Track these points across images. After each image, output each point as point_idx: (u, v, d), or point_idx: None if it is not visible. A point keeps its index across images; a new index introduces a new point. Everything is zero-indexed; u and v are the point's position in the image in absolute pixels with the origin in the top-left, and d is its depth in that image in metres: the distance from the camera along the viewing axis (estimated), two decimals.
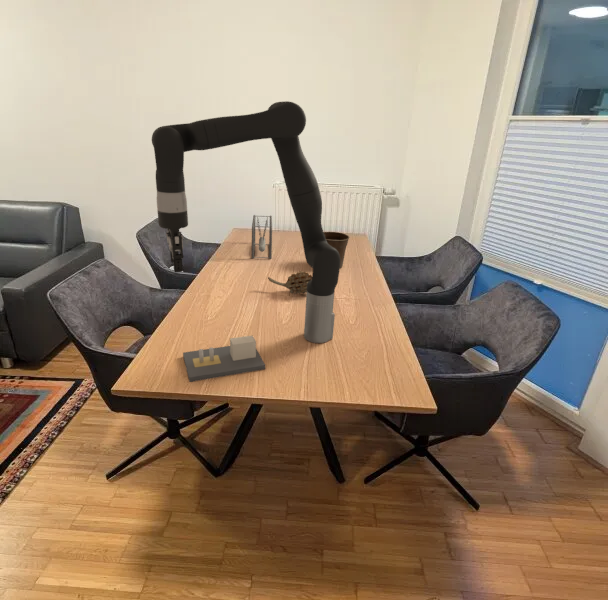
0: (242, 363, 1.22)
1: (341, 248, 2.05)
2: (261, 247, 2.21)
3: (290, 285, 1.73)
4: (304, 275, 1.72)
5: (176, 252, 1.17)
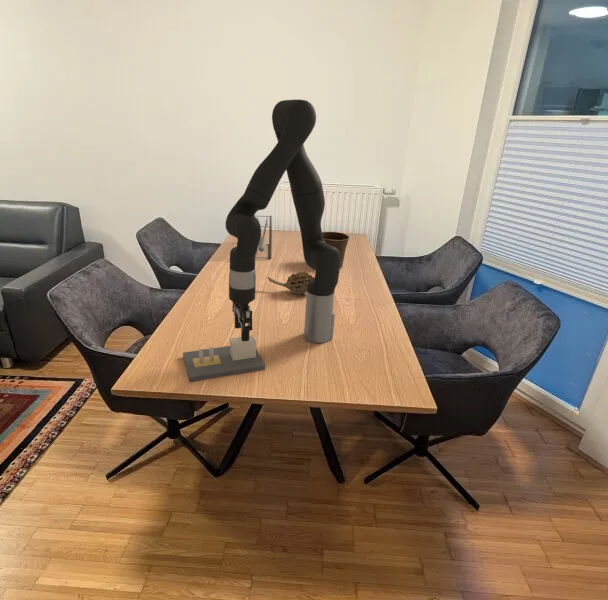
0: (242, 363, 1.22)
1: (341, 248, 2.05)
2: (261, 247, 2.21)
3: (290, 285, 1.73)
4: (304, 275, 1.72)
5: None
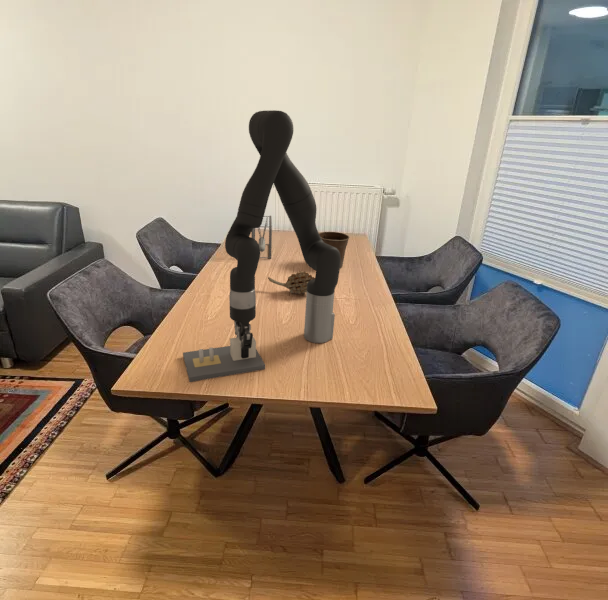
0: (242, 363, 1.22)
1: (341, 248, 2.05)
2: (261, 247, 2.21)
3: (290, 285, 1.73)
4: (304, 275, 1.72)
5: None
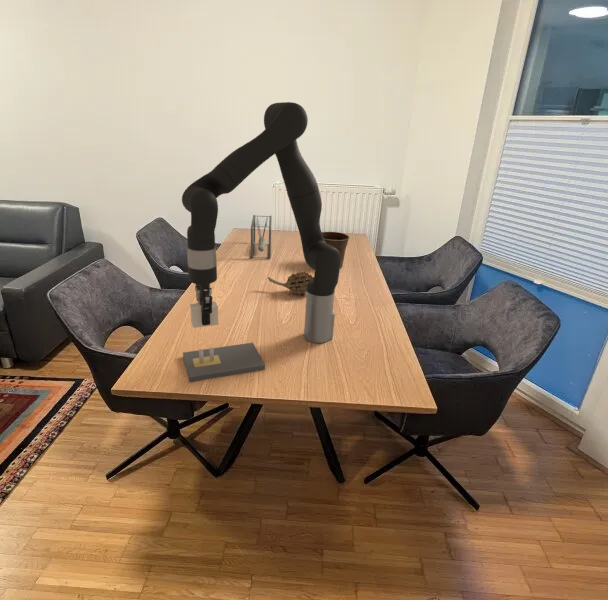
0: (242, 363, 1.22)
1: (341, 248, 2.05)
2: (260, 247, 2.21)
3: (290, 285, 1.73)
4: (304, 275, 1.72)
5: None
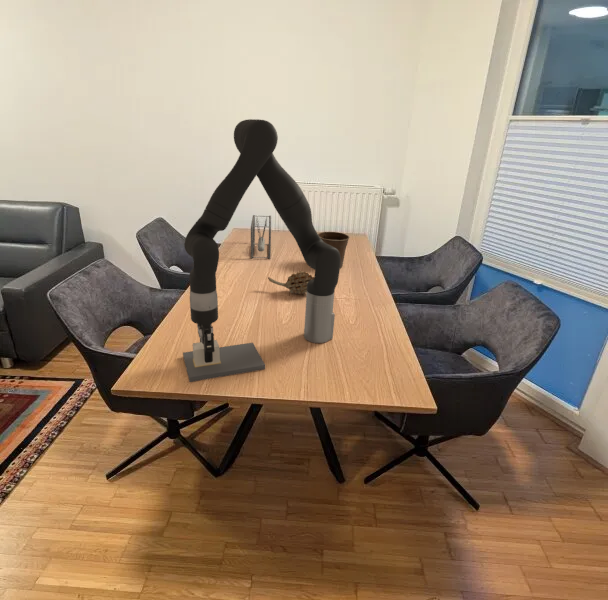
0: (242, 363, 1.22)
1: (341, 248, 2.05)
2: (260, 247, 2.21)
3: (290, 285, 1.73)
4: (304, 275, 1.72)
5: None
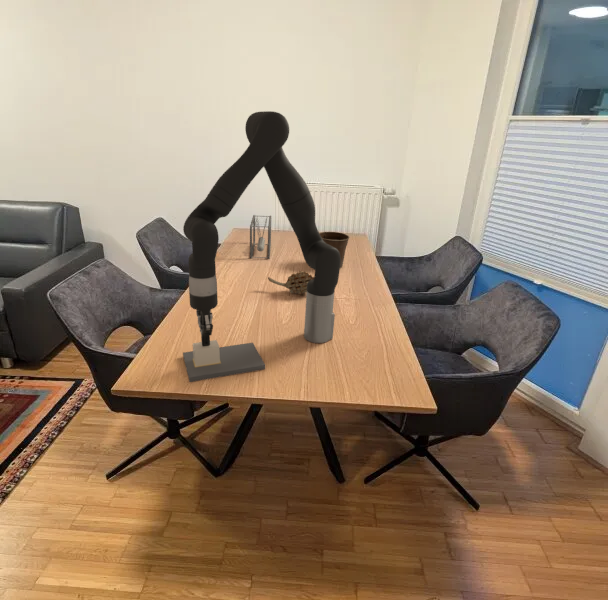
0: (242, 363, 1.22)
1: (341, 248, 2.05)
2: (259, 247, 2.21)
3: (290, 285, 1.73)
4: (304, 275, 1.72)
5: None
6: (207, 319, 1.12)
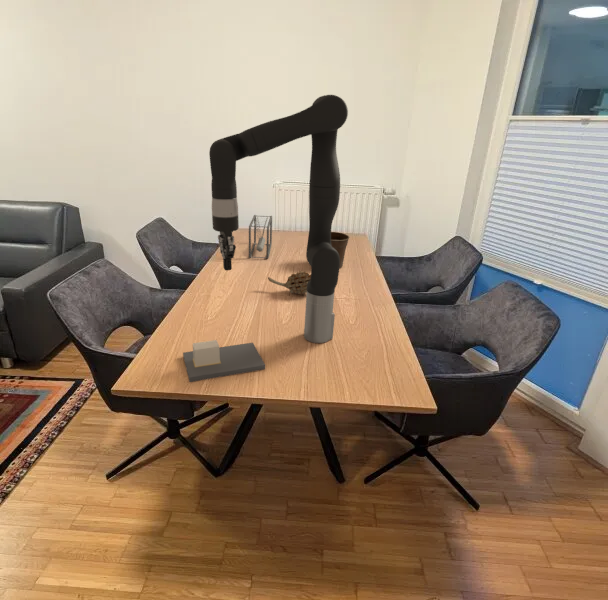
0: (242, 363, 1.22)
1: (341, 248, 2.05)
2: (259, 247, 2.21)
3: (290, 285, 1.73)
4: (304, 275, 1.72)
5: None
6: (230, 240, 1.19)
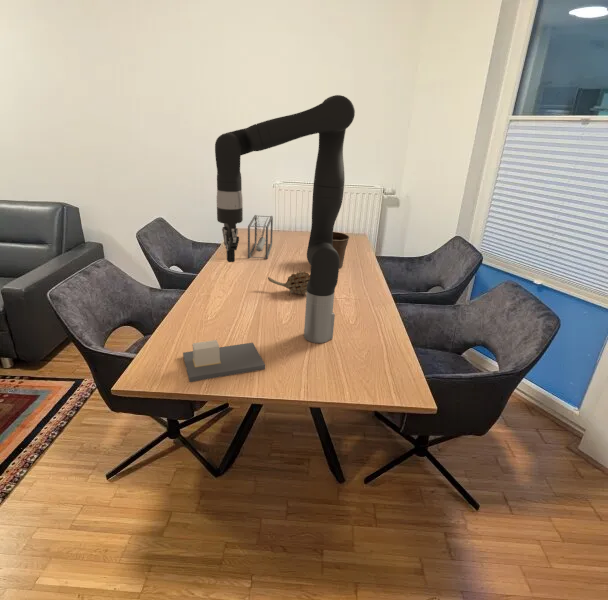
0: (242, 363, 1.22)
1: (341, 248, 2.05)
2: (258, 247, 2.21)
3: (290, 285, 1.73)
4: (304, 275, 1.72)
5: None
6: (233, 232, 1.21)
